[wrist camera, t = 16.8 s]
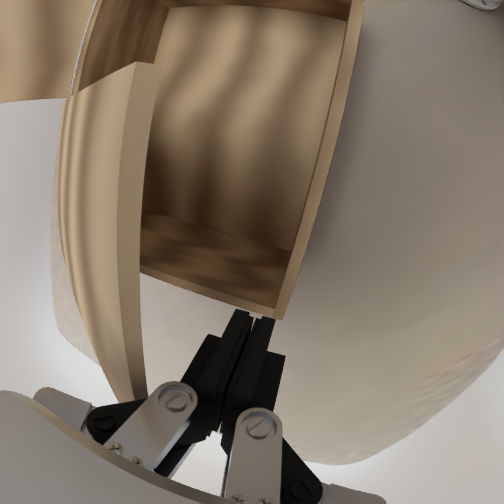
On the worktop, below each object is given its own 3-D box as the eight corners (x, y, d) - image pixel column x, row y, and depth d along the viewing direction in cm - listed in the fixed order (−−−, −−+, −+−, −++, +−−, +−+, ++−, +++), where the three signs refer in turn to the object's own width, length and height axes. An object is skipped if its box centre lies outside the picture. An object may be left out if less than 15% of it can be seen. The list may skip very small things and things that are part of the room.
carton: (354, 20, 19) (369, -38, 9) (296, 257, 31) (282, 320, 21) (168, 6, 22) (109, -29, 11) (131, 209, 34) (66, 242, 23)
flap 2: (162, 65, 4) (136, 61, 3) (156, 447, 10) (147, 450, 9) (68, 101, 17) (63, 102, 17) (64, 241, 23) (60, 242, 23)
